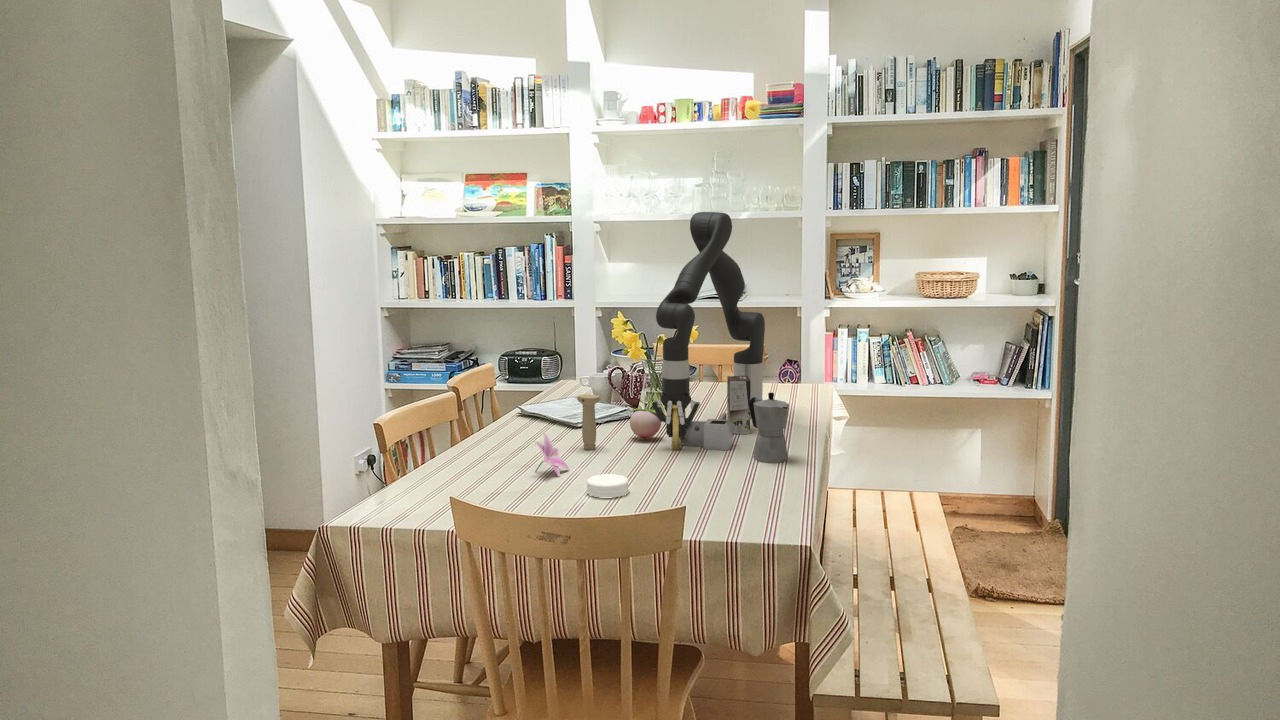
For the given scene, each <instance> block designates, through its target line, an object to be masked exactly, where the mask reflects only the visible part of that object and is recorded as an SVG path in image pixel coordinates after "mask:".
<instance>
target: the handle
mask: <svg viewBox="0 0 1280 720" xmlns="http://www.w3.org/2000/svg"><path fill="white" fill-rule="evenodd" d="M600 398H601V397H600V395H597V394H587V393H586V394H585V393H584V394H579V395H577V396H576V401H577V402H579V403H580V404H582V405H581V406H582V418H581V419H582V420H581V435H582V436H581V437H582V442H583V444H582V445H583V449H585V450H586V451H587V450H595V449H596V440H597V421H596V411H595V409H596V408H595V407H596V404H597V403H598V402H600V400H601V399H600Z"/></svg>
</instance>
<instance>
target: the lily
mask: <svg viewBox="0 0 1280 720" xmlns="http://www.w3.org/2000/svg"><path fill="white" fill-rule="evenodd" d="M534 443H535V444H536V446H537V447H538V448H539V449H540V450H541V452H542V453H543V460H542V461H541V462H540V464H539V465H538V467H537V468H536V470H535V471H534V473H535V472H536V473H537V471H538V470H539V468H540V467H541V466H542V464H546V465H551V466H552V469H554V471H555V473H556V475H557V477H558V478H560V477H559V476H561V473H560V471H561V470H560V468H562V469H565V470H567V471H569V470H570V471H571V468H570V467H569V466H568V464H567V463H566V461H565V460H564V459H563V457H560V450H559V448H557V447H554V446H553V443H552V441H551V440H550V438H549V436H548V435H547V434H546V432H545V431H543V443H542V442H539V441H536V440H535V441H534ZM570 471H569V472H570Z"/></svg>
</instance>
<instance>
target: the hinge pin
mask: <svg viewBox="0 0 1280 720" xmlns="http://www.w3.org/2000/svg"><path fill="white" fill-rule="evenodd" d="M672 408H673V411H672V412H671V413H672V415H671V424H672V437H671V450H672V451H681V450H682V445H681V438H680V424H681V423H680V417H679V413H678V407H677V404H672Z"/></svg>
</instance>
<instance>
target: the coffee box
mask: <svg viewBox="0 0 1280 720" xmlns="http://www.w3.org/2000/svg"><path fill="white" fill-rule="evenodd" d="M726 379H727V381H726V383H727V385H726V386H727V387H726V389H727V391H726V395H727V396H726V397H727V399H726V404H727V406H726V407H727V408H726V413H727V420H733V435H750V433H751V418H750V409H749V401H750V386H751V381H750V379H749V377H748V376H734V375H733V376H732V375H731V376H730V375H728V376H726Z"/></svg>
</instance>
